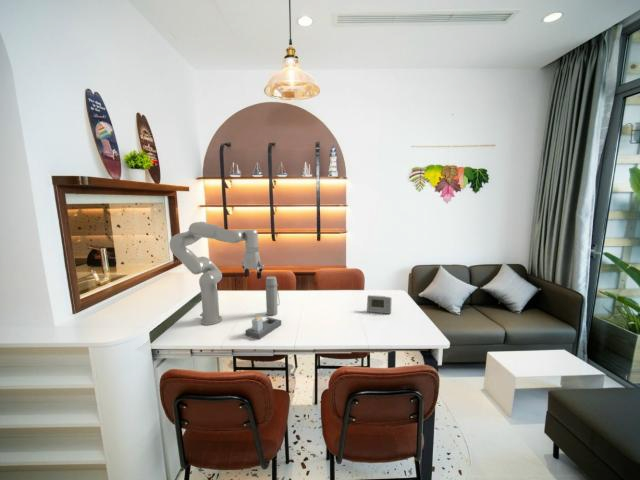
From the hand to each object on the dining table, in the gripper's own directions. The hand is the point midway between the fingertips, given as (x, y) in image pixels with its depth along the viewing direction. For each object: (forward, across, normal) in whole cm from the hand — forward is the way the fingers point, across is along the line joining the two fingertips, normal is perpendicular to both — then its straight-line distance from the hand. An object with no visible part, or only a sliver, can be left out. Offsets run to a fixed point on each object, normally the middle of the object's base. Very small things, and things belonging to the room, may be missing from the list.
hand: (253, 277), depth 168 cm
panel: (+28, +13, -7) cm, 32 cm away
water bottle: (+28, +3, +15) cm, 32 cm away
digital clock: (+29, +66, +49) cm, 87 cm away
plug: (+28, +13, -12) cm, 34 cm away
